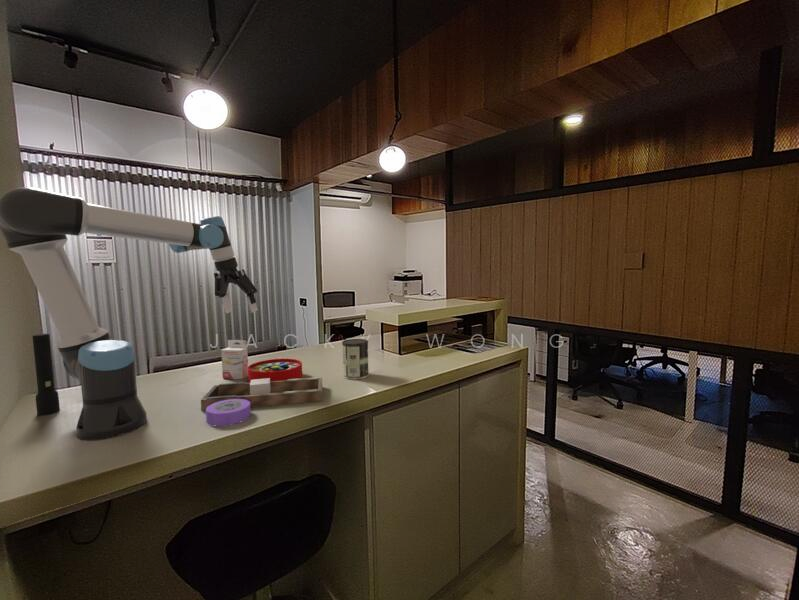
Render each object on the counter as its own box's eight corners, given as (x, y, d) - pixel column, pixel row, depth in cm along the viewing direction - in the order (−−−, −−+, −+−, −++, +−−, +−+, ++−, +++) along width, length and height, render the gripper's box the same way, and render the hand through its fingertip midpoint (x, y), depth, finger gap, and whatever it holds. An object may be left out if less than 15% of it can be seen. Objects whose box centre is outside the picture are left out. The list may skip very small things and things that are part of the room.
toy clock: (236, 367, 140) (279, 356, 156) (237, 382, 140) (280, 369, 157) (270, 375, 128) (312, 362, 145) (270, 391, 129) (313, 377, 146)
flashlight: (34, 413, 111) (40, 416, 108) (26, 335, 108) (32, 336, 106) (55, 407, 115) (62, 410, 112) (48, 332, 113) (55, 333, 110)
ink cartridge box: (222, 379, 143) (219, 342, 142) (229, 375, 148) (227, 339, 147) (242, 379, 142) (240, 342, 141) (249, 375, 147) (247, 339, 146)
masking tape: (238, 407, 114) (238, 395, 114) (258, 416, 107) (257, 404, 107) (199, 419, 105) (198, 406, 105) (218, 430, 98) (217, 417, 98)
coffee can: (364, 371, 153) (364, 337, 151) (372, 377, 143) (371, 342, 142) (340, 373, 149) (339, 339, 147) (346, 381, 139) (345, 344, 138)
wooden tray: (201, 411, 111) (200, 399, 111) (215, 395, 125) (214, 384, 125) (322, 401, 118) (321, 390, 118) (322, 387, 132) (322, 376, 132)
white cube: (270, 395, 125) (270, 377, 125) (270, 401, 119) (269, 383, 119) (251, 397, 123) (251, 379, 123) (250, 403, 118) (249, 385, 117)
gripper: (256, 253, 134) (272, 307, 140) (210, 258, 144) (227, 308, 151) (240, 258, 127) (258, 315, 134) (193, 263, 138) (212, 315, 144)
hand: (241, 311), depth 142 cm, fingers open, 13 cm apart
